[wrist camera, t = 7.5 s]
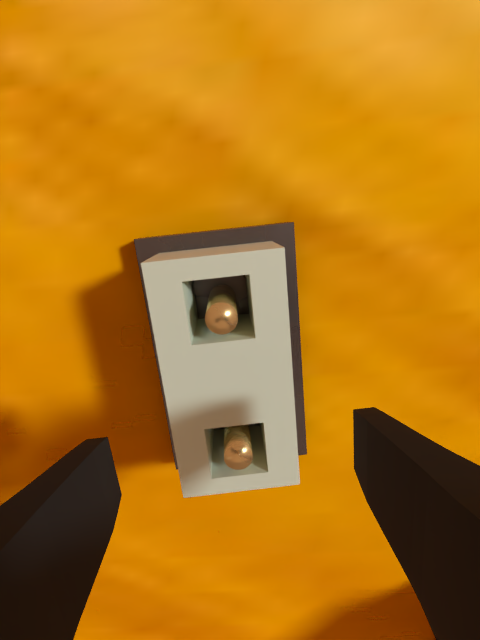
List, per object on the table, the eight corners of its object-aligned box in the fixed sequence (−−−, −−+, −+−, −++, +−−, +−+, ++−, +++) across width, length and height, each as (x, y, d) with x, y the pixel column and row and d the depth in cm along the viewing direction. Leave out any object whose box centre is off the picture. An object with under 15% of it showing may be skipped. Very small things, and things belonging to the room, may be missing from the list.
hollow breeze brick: (286, 435, 18) (300, 484, 15) (190, 446, 18) (183, 498, 15) (271, 240, 15) (284, 247, 12) (158, 252, 15) (140, 262, 12)
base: (302, 442, 20) (324, 505, 15) (178, 457, 20) (165, 524, 15) (289, 221, 16) (313, 223, 12) (139, 238, 16) (108, 245, 12)
